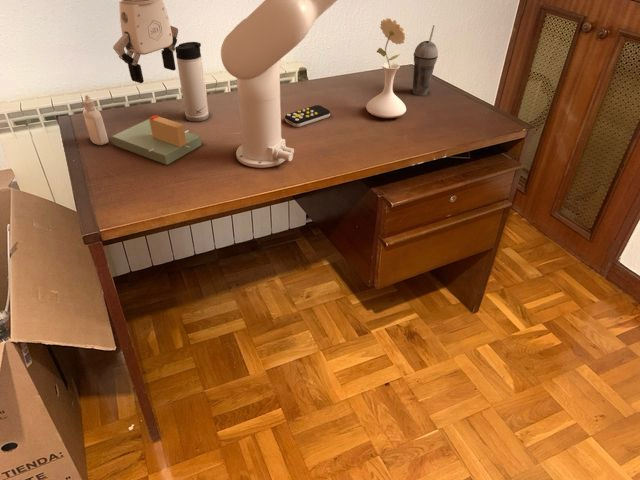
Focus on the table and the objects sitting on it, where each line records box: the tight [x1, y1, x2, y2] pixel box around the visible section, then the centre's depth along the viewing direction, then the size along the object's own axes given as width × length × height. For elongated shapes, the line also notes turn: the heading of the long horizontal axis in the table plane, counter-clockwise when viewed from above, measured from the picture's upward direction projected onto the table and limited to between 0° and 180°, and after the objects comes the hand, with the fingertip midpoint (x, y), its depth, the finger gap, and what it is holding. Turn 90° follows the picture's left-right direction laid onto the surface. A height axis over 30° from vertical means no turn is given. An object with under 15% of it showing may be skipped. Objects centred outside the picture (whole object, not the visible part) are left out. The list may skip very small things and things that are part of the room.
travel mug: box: [175, 41, 210, 123], centre depth 130 cm, size 6×7×20 cm
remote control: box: [284, 104, 331, 128], centre depth 136 cm, size 6×13×2 cm, turn 130°
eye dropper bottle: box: [82, 94, 109, 146], centre depth 120 cm, size 4×6×12 cm
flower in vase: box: [365, 17, 407, 119], centre depth 133 cm, size 13×11×25 cm
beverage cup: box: [412, 24, 439, 96], centre depth 147 cm, size 7×7×20 cm
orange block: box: [148, 114, 186, 147], centre depth 118 cm, size 9×2×5 cm, turn 59°
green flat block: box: [111, 118, 202, 166], centre depth 121 cm, size 20×13×3 cm, turn 59°
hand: (154, 75), depth 111 cm, fingers open, 9 cm apart
